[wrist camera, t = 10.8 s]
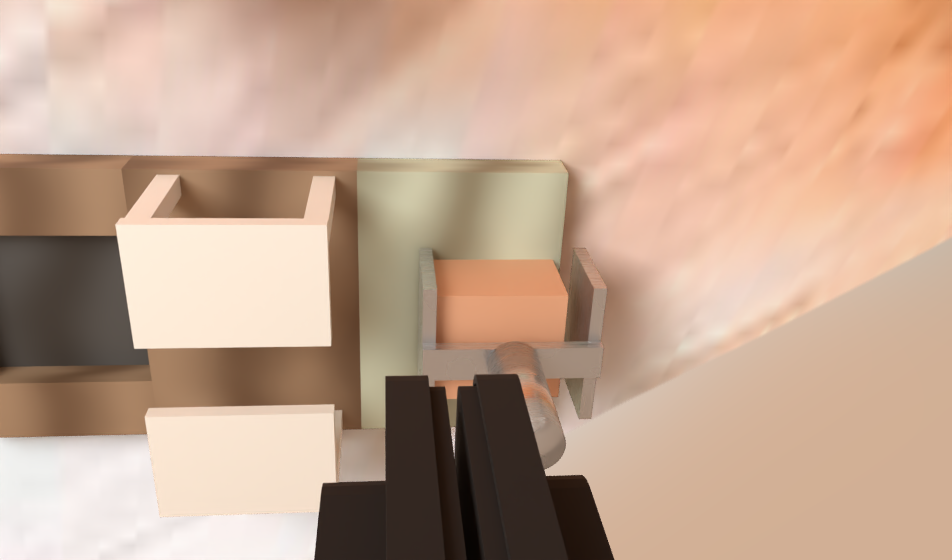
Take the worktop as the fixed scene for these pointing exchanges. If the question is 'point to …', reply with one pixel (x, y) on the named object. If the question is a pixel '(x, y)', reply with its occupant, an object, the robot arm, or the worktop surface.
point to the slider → (526, 352)
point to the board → (240, 196)
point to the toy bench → (226, 326)
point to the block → (499, 305)
